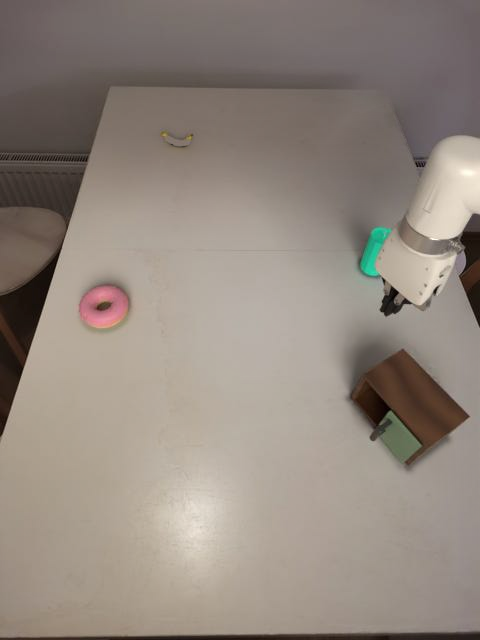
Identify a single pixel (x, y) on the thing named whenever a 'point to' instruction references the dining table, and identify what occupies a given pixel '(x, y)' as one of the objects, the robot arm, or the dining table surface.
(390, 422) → the sliding door
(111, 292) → the doughnut
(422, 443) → the cupboard
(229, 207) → the dining table surface
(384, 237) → the candle
